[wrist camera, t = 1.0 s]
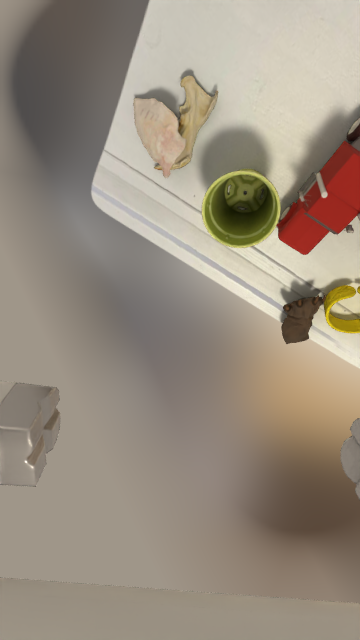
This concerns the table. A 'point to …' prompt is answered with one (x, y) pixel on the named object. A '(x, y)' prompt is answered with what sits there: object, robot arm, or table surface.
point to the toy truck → (325, 199)
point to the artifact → (158, 132)
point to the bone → (192, 118)
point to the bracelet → (337, 323)
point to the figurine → (300, 318)
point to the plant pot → (236, 223)
